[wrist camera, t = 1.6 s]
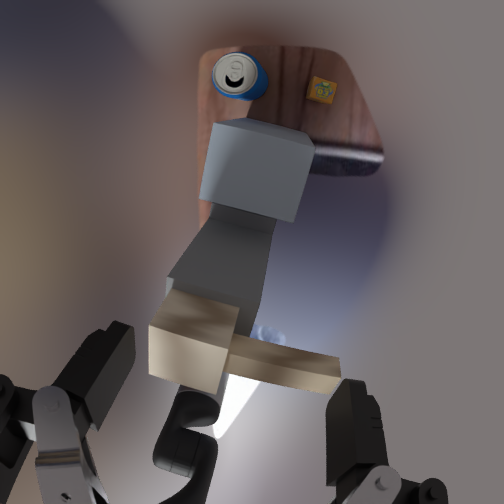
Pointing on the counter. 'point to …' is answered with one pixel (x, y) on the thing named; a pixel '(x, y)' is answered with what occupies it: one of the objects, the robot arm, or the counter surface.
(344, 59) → the counter surface
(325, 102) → the supplement box
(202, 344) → the mallet
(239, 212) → the tall tower
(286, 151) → the grey tall block
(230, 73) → the beverage can
